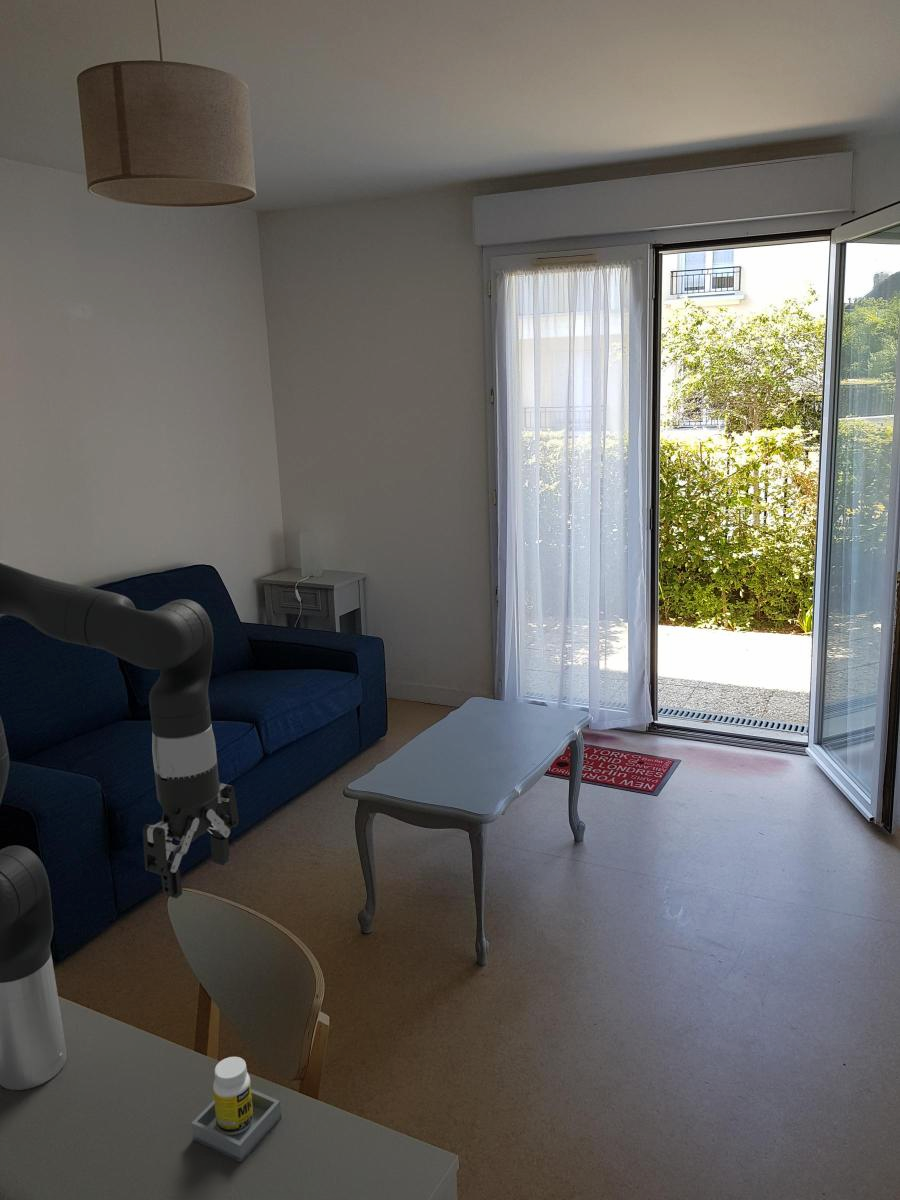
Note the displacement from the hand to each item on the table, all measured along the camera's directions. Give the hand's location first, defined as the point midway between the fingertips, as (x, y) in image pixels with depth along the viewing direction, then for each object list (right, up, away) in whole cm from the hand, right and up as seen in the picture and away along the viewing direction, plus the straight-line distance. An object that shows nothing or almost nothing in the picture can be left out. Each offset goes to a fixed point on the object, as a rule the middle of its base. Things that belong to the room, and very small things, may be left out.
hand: (197, 878), depth 119 cm
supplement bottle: (+4, -33, +3) cm, 33 cm away
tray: (+5, -33, +3) cm, 34 cm away
